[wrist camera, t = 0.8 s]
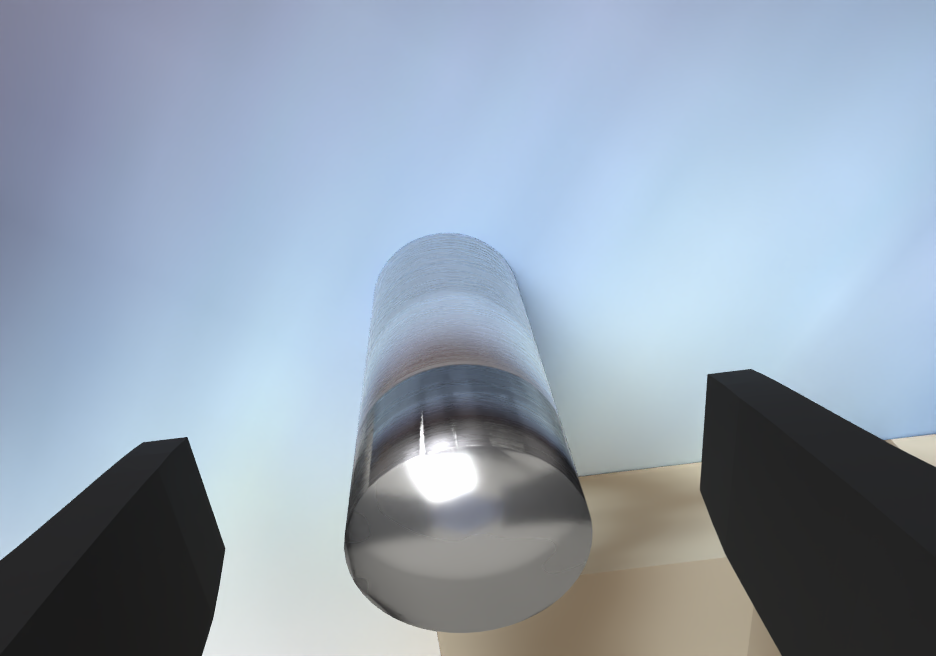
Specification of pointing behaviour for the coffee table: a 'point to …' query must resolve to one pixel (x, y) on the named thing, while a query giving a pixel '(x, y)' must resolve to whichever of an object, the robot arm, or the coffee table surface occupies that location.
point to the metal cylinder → (460, 450)
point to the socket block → (647, 578)
